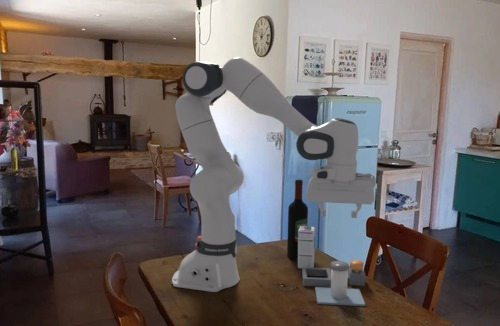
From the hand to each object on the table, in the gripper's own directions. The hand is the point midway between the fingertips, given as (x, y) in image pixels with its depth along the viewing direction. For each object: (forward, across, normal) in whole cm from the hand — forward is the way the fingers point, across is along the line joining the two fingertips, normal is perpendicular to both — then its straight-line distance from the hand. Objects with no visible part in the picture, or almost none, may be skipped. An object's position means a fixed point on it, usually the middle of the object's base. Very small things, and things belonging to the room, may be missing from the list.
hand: (338, 216), depth 128 cm
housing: (+25, -1, -8) cm, 26 cm away
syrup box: (+25, +8, -20) cm, 33 cm away
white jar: (+24, -1, +3) cm, 24 cm away
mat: (+25, -1, +3) cm, 25 cm away
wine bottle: (+25, +11, -30) cm, 41 cm away
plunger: (+24, -8, -8) cm, 27 cm away
